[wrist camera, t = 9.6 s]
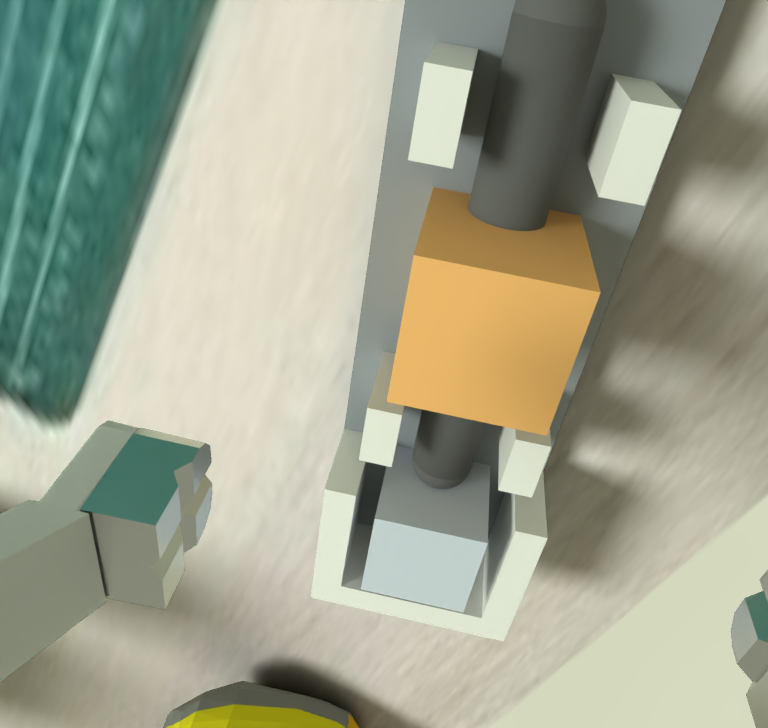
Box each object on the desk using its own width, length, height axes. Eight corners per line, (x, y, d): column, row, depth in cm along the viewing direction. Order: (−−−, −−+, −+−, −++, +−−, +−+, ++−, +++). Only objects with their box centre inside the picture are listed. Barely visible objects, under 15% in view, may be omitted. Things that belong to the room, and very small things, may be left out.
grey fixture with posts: (435, -173, 14) (413, -204, 11) (757, -119, 14) (835, -135, 11) (335, 515, 27) (310, 597, 23) (504, 552, 26) (503, 641, 23)
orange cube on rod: (479, -53, 14) (470, -48, 11) (659, -21, 14) (712, -5, 11) (371, 511, 25) (347, 613, 21) (475, 534, 25) (469, 641, 21)
